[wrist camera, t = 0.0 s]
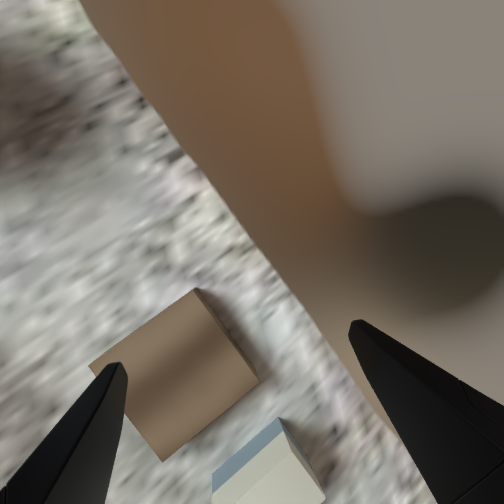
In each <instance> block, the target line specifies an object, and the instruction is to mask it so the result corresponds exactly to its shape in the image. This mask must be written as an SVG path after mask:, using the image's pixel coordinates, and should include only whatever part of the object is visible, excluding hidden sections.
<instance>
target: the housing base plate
mask: <svg viewBox="0 0 504 504" xmlns="http://www.w3.org/2000/svg"><path fill="white" fill-rule="evenodd" d="M282 431H284V432H285V434H286V435H287V437H288V438H289V439H290V441H291V442H292V443H293V445H294V446H295V447H296V449H297V450H298V451H299V453H300V454H301V456H302V457H303V458H304V460H305V461H306V462H307V464H308V465H309V466H310V468H311V469H312V467H311V465H310V463H309V461H308V459H307V457H306V455H305V453H304V452H303V451H302V449H301V448H300V447H299V445H298V444H297V442H296V441H295V440H294V438H293V437H292V436H291V434H290V433H289V431H288V430H287V429H286V427H285V426H284V425H283V423H282V422H281V421H280V419H279V418H278V417H277V418H276V419H275V420H274V421H273V422H272V423H270V424H269V425H268V426H267V427H266V428H265V429H263V430H262V431H261V432H260V433H259V434H258V435H256V436H255V437H254V438H253V439H252V440H251V441H250V442H248V443H247V444H246V445H245V446H244V447H243V448H241V449H240V450H239V451H238V452H237V453H236V454H234V455H233V456H232V457H231V458H230V459H229V460H228V461H226V462H225V463H224V464H223V465H222V466H221V467H219V468H218V469H217V470H216V471H215V472H214V473H213V474H212V494H213V493H214V492H215V491H216V490H217V489H219V488H220V487H221V486H222V485H223V484H224V483H225V482H226V481H227V480H229V479H230V478H231V477H232V476H233V475H234V474H235V473H236V472H238V471H239V470H240V469H241V468H242V467H243V466H244V465H245V464H246V463H248V462H249V461H250V460H251V459H252V458H253V457H254V456H255V455H257V454H258V453H259V452H260V451H261V450H262V449H263V448H264V447H265V446H267V445H268V444H269V443H270V442H271V441H272V440H273V439H274V438H276V437H277V436H278V435H279V434H280V433H281V432H282ZM312 470H313V469H312Z"/></svg>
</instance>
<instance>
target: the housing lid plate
mask: <svg viewBox="0 0 504 504" xmlns="http://www.w3.org/2000/svg"><path fill="white" fill-rule="evenodd" d="M325 499H326V496H325V494H324V492H323V490H322V488H321V486H320V484H319V482H318V480H317V478H316V476H315V473H314V472H313V470H312V469H311V468H310V466H309V465H308V464H307V462H306V461H305V460H304V458H303V457H302V456H301V454H300V453H299V451H298V450H297V449H296V447H295V446H294V445H293V443H292V442H291V441H290V439H289V438H288V437H287V435H286V434H285V432H284V431H282V432H281V433H280V434H279V435H278V436H277V437H276V438H274V439H273V440H272V441H271V442H270V443H269V444H268V445H267V446H265V447H264V448H263V449H262V450H261V451H260V452H259V453H258V454H257V455H255V456H254V457H253V458H252V459H251V460H250V461H249V462H248V463H246V464H245V465H244V466H243V467H242V468H241V469H240V470H239V471H238V472H236V473H235V474H234V475H233V476H232V477H231V478H230V479H229V480H227V481H226V482H225V483H224V484H223V485H222V486H221V487H220V488H219V489H217V490H216V491H215V492H214V493H213V494H212V504H321V503H322V502H323V501H324V500H325Z"/></svg>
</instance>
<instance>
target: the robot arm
mask: <svg viewBox="0 0 504 504" xmlns="http://www.w3.org/2000/svg"><path fill="white" fill-rule="evenodd" d="M348 337H349V340H350V343H351V345H352V347H353V349H354V352H355V354H356V356H357V358H358V361H359V363H360V365H361V367H362V370H363V372H364V374H365V376H366V378H367V380H368V381H369V383H370V385H371V387H372V388H373V390H374V392H375V393H376V395H377V397H378V399H379V401H380V402H381V404H382V406H383V407H384V410H385V411H386V413H387V415H388V416H389V418H390V420H391V422H392V424H393V425H394V427H395V429H396V431H397V432H398V434H399V436H400V438H401V439H402V441H403V443H404V445H405V447H406V448H407V450H408V452H409V454H410V455H411V457H412V459H413V461H414V462H415V464H416V466H417V468H418V469H419V471H420V473H421V475H422V476H423V478H424V480H425V482H426V483H427V485H428V487H429V489H430V491H431V492H432V494H433V496H434V498H435V499H436V501H437V503H438V504H504V406H503V405H501V404H500V403H498V402H496V401H494V400H493V399H491V398H489V397H487V396H486V395H484V394H482V393H481V392H479V391H477V390H476V389H474V388H472V387H471V386H469V385H468V384H466V383H464V382H462V381H461V380H458V378H456V377H454V376H453V375H451V374H450V373H448V372H447V371H445V370H443V369H442V368H440V367H438V366H437V365H435V364H434V363H432V362H430V361H429V360H427V359H425V358H424V357H422V356H421V355H419V354H417V353H416V352H414V351H413V350H411V349H409V348H407V347H406V346H405V345H403V344H401V343H399V342H398V341H396V340H395V339H393V338H392V337H390V336H388V335H387V334H385V333H384V332H382V331H380V330H379V329H377V328H375V327H374V326H372V325H371V324H369V323H367V322H366V321H364V320H362V319H360V320H354V321H352V322H351V326H350V329H349V333H348ZM127 386H128V375H127V372H126V370H125V368H124V366H123V364H122V362H120V361H118V362H112V363H109V364H107V365H106V366H105V367H104V368H103V370H102V371H101V372H100V373H99V374H98V376H97V377H96V378H95V379H94V380H93V381H92V383H91V384H90V385H89V386H88V387H87V389H86V390H85V391H84V392H83V393H82V395H81V396H80V397H79V398H78V399H77V400H76V402H75V403H74V404H73V405H72V406H71V408H70V409H69V410H68V411H67V412H66V413H65V415H64V416H63V417H62V418H61V419H60V421H59V422H58V423H57V424H56V425H55V427H54V428H53V429H52V430H51V431H50V432H49V434H48V435H47V436H46V437H45V438H44V440H43V441H42V442H41V443H40V444H39V445H38V447H37V448H36V449H35V450H34V451H33V453H32V454H31V455H30V456H29V457H28V459H27V460H26V461H25V462H24V463H23V464H22V466H21V467H20V468H19V469H18V470H17V472H16V473H15V474H14V475H13V476H12V477H11V479H10V480H9V481H8V482H7V484H6V486H4V487H3V488H2V489H1V490H0V504H105V500H106V496H107V491H108V487H109V483H110V478H111V474H112V470H113V465H114V461H115V457H116V452H117V448H118V444H119V439H120V435H121V430H122V425H123V418H124V410H125V402H126V394H127Z"/></svg>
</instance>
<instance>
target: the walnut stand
mask: <svg viewBox="0 0 504 504" xmlns="http://www.w3.org/2000/svg"><path fill="white" fill-rule="evenodd" d="M118 361H120V362H122V364H123V366H124V368H125V370H126V372H127V375H128V386H127V394H126V402H125V410H124V413H125V415H126V416H127V417H128V418H129V420H130V421H131V422H132V424H133V425H134V426H135V427H136V429H137V430H138V431H139V433H140V434H141V435H142V437H143V438H144V439H145V440H146V442H147V443H148V444H149V446H150V447H151V448H152V450H153V451H154V452H155V453H156V455H157V456H158V457H159V459H160V460H161V461H162V463H163V462H164V461H165V460H166V459H167V458H169V457H170V456H171V455H172V454H173V453H175V452H176V451H177V450H178V449H179V448H181V447H182V446H183V445H184V444H185V443H187V442H188V441H189V440H190V439H192V438H193V437H194V436H195V435H196V434H198V433H199V432H200V431H201V430H202V429H204V428H205V427H206V426H207V425H208V424H210V423H211V422H212V421H213V420H215V419H216V418H217V417H218V416H219V415H221V414H222V413H223V412H224V411H225V410H227V409H228V408H229V407H230V406H231V405H233V404H234V403H235V402H236V401H238V400H239V399H240V398H241V397H242V396H244V395H245V394H246V393H247V392H248V391H250V390H251V389H252V388H253V387H254V386H256V385H257V384H258V383H259V382H260V381H259V379H258V376H257V373H256V371H255V368H254V366H253V365H252V364H251V362H250V361H249V360H248V358H247V357H246V355H245V354H244V353H243V351H242V350H241V349H240V347H239V346H238V344H237V343H236V342H235V340H234V339H233V338H232V336H231V335H230V333H229V332H228V331H227V329H226V328H225V327H224V325H223V324H222V323H221V321H220V320H219V318H218V317H217V316H216V314H215V313H214V312H213V310H212V309H211V307H210V306H209V305H208V303H207V302H206V301H205V299H204V298H203V296H202V295H201V294H200V292H199V291H198V290H197V288H196V287H195V288H194V289H193V290H191V291H190V292H188V293H187V294H186V295H184V296H183V297H181V298H180V299H179V300H177V301H176V302H174V303H173V304H172V305H170V306H169V307H168V308H166V309H165V310H163V311H162V312H161V313H159V314H158V315H156V316H155V317H154V318H152V319H151V320H149V321H148V322H147V323H145V324H144V325H142V326H141V327H140V328H138V329H137V330H135V331H134V332H133V333H131V334H130V335H128V336H127V337H126V338H124V339H123V340H121V341H120V342H119V343H117V344H116V345H115V346H113V347H112V348H110V349H109V350H108V351H106V352H105V353H104V354H102V355H101V356H100V357H99V358H97V359H96V360H95V361H93V362H92V363H91V364H90V365H88V366H89V368H90V369H91V370H92V372H93V373H94V374H95V376H96V377H97V376H98V374H99V373H100V372H101V371H102V370H103V368H104V367H105V366H106V365H107V364H109V363H112V362H118Z"/></svg>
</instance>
